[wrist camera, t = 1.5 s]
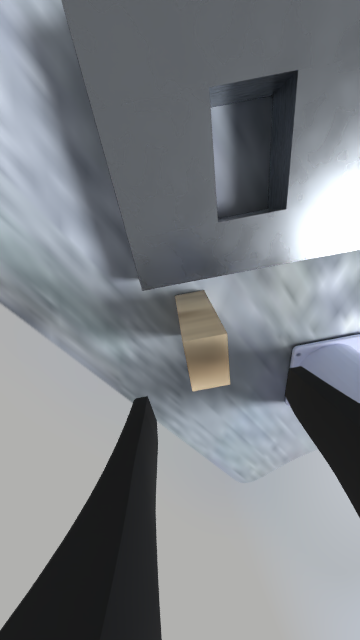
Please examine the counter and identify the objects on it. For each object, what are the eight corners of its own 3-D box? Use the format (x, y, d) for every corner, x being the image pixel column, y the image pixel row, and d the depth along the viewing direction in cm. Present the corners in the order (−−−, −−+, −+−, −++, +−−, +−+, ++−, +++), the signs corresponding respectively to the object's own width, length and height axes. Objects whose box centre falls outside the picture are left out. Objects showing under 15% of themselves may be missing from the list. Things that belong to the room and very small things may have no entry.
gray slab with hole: (335, 243, 17) (361, 248, 14) (144, 279, 17) (142, 290, 14) (390, -25, 10) (454, -89, 8) (80, 37, 10) (59, -9, 8)
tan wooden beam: (208, 329, 20) (230, 384, 14) (182, 334, 20) (192, 391, 14) (204, 290, 18) (227, 333, 11) (174, 295, 18) (182, 342, 12)
